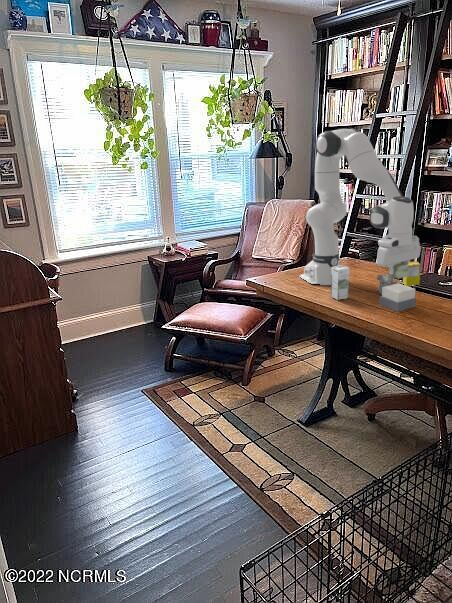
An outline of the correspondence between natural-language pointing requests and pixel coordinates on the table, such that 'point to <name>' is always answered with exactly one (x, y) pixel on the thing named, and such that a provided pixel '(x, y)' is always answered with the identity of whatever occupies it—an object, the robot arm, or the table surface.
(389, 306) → the tower base block
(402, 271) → the sage cube
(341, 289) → the syrup box
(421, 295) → the table surface
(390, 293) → the tower top block
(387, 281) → the elephant statuette
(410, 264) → the supplement box
